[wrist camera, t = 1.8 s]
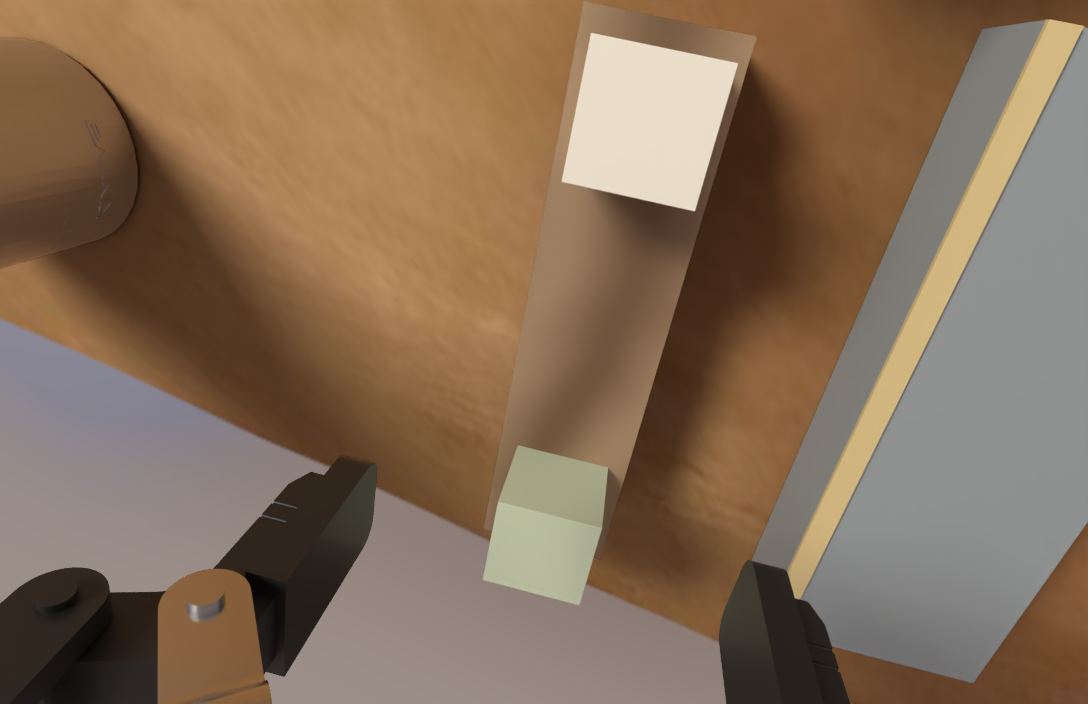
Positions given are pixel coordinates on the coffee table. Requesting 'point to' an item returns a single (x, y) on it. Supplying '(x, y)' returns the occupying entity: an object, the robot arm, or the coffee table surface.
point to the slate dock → (959, 381)
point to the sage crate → (547, 525)
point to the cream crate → (646, 121)
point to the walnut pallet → (604, 285)
